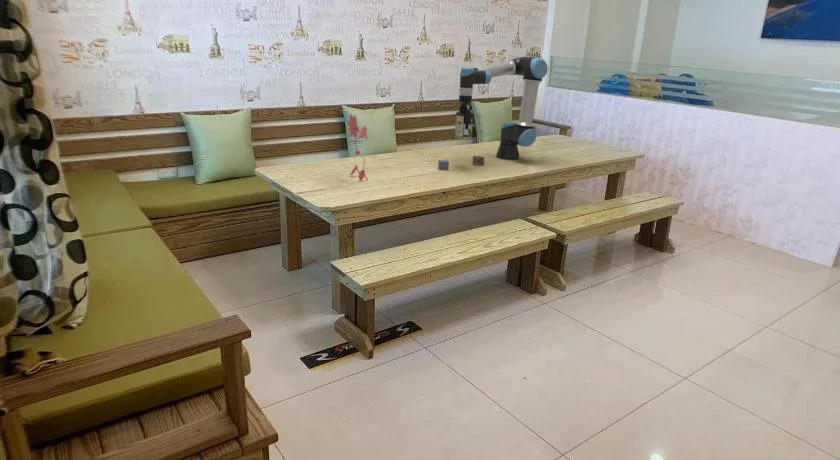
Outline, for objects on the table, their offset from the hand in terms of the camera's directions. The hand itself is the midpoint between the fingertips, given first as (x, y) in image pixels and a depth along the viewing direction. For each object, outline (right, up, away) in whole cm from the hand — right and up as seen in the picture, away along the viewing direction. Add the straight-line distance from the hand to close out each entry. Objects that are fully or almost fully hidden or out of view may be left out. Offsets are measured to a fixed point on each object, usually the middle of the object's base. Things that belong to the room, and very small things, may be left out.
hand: (463, 132), depth 324 cm
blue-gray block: (-12, -22, +1) cm, 25 cm away
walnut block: (+10, -17, +15) cm, 25 cm away
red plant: (-63, -31, -29) cm, 75 cm away
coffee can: (0, -2, +1) cm, 3 cm away
